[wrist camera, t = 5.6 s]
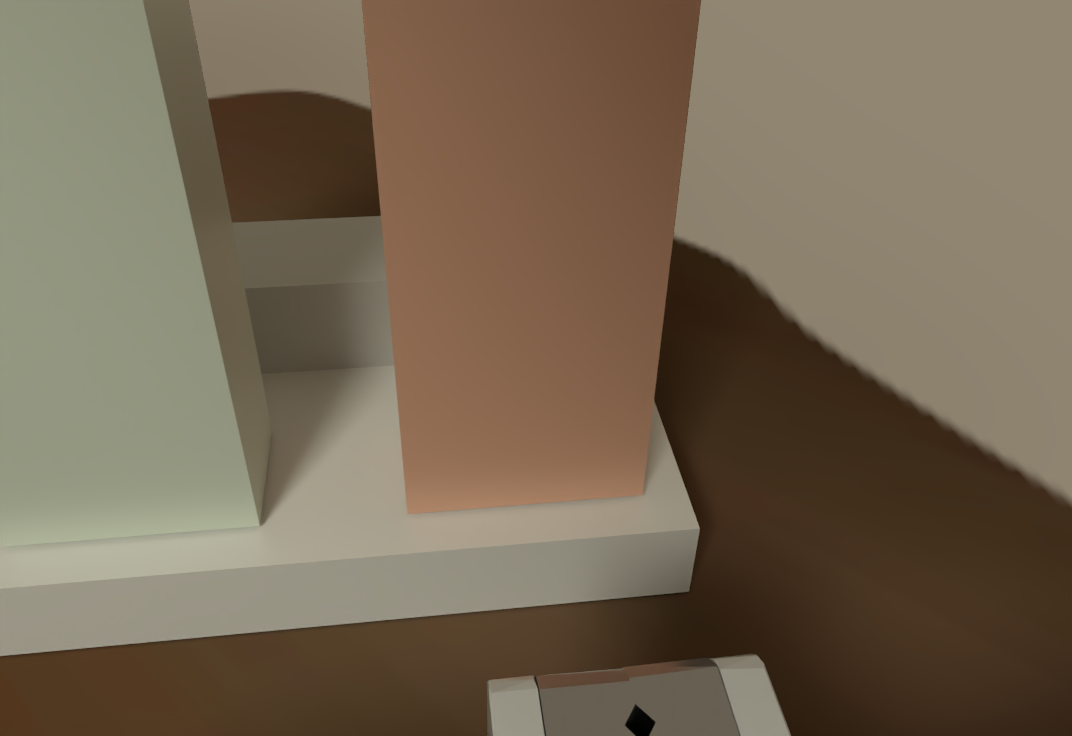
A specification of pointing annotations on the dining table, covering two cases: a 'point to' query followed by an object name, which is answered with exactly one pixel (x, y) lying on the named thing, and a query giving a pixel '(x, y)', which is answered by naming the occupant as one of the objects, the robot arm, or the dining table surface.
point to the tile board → (341, 496)
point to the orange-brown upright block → (527, 237)
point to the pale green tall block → (119, 284)
